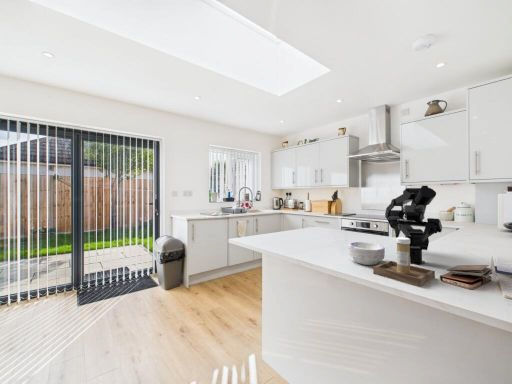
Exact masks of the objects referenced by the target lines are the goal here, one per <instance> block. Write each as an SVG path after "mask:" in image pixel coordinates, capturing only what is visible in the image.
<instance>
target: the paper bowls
mask: <svg viewBox="0 0 512 384" xmlns="http://www.w3.org/2000/svg"><path fill="white" fill-rule="evenodd" d="M347 246H348V250H347V253H348V255H349V256H350V257H352V259H353V261H354V262H355V263H358V264H360V265H364V266H377V265H379V262H380V261H382V260H384V259H385V253H386V251H385V247H384V246H383V245H381V244H378V243H374V242H369V241H368V242H367V241H352V242H349V243H348V245H347Z"/></svg>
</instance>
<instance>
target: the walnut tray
mask: <svg viewBox="0 0 512 384" xmlns="http://www.w3.org/2000/svg"><path fill="white" fill-rule="evenodd" d="M372 268H373V271H372V273H373V275H377V276H380V277H383V278H387V279H390V280H393V281H398V282H401V283H404V284H408V285H412V286H415V287H418V288H420V287H422V286H423V285H425V284H427V283H429V282H431V281H432V280H434V279H436V270H432V269H427V268H423V267H419V266H415V265H412V264H410V274H402V273H399V272H397V261H394V260H388V261H386V262H383V263H380V264H376V265H373V267H372Z"/></svg>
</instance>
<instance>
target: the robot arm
mask: <svg viewBox="0 0 512 384" xmlns="http://www.w3.org/2000/svg"><path fill="white" fill-rule="evenodd" d="M436 196H437V192H436V191H435V189H433V188H431V187H429V186H428V185H421V187H405V189H404V190H403V191H402V194H400V195H399V196H397V197H396V198H393V199H392V198H391V201H390V203H389V205H388V206H387V207H386V208H385V212H384V213H385V214H384V217H385V219H386V220H387V222H388V225H389V226H390V228H391V229H393V230H394V232H395V238H397V237H399V236H400V234H401V232H402V234H403V235H404V236H405V238H409V239H410V264H414V265H419V266H420V265H422V264H425V263H426V261H425V260H423V251H428V248H429V243H430V240H429V237H431V236H433V235H434V234H437V233H442V231H443V225H442V221H441V220H440V218H434V217H433V218H431V217H430V218H429V217H427V219H426V221H423V220H425V212H426V209H427V206H428V205H430V204H431V203H432V201H433V200H434V198H435V197H436ZM410 202H411V203H410ZM408 203H410V204H409V205H408ZM406 204H407V205H406ZM395 207H401V209H398V210H395V209H394V208H395ZM413 227H423V228H424V231H423V230H422V229H420V228H413Z"/></svg>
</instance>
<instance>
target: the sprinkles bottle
mask: <svg viewBox="0 0 512 384" xmlns="http://www.w3.org/2000/svg"><path fill="white" fill-rule="evenodd" d="M395 238H396V237H395ZM395 241H396V262H397V272H399V273H402V274H410V265H411V263H410V239H409V238H405V237H402V236H401V237H397V238H396V240H395Z"/></svg>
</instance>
